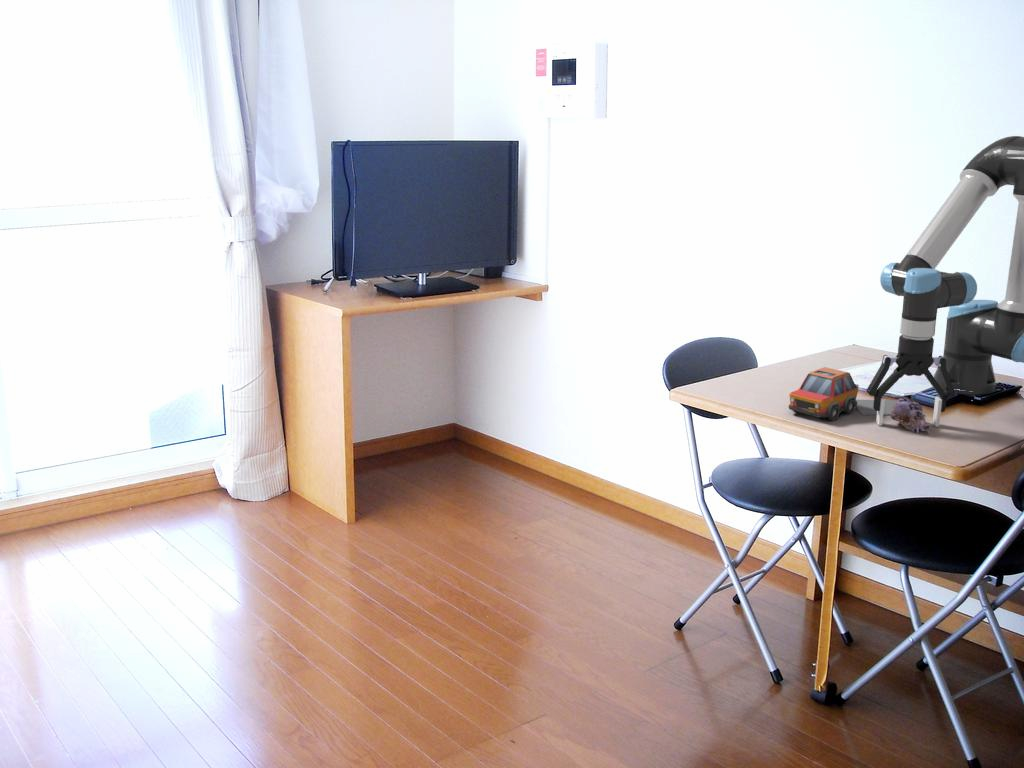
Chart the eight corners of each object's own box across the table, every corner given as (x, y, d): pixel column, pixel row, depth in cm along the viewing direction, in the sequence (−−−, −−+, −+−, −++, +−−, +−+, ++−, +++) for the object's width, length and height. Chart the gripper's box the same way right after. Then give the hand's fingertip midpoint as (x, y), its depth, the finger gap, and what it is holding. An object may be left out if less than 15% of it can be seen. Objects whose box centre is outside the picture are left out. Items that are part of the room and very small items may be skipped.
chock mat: (911, 401, 265) (912, 400, 264) (925, 416, 254) (925, 414, 253) (851, 400, 266) (851, 399, 266) (861, 415, 255) (861, 413, 255)
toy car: (782, 414, 256) (785, 375, 254) (821, 399, 267) (824, 362, 264) (824, 425, 248) (827, 385, 245) (861, 410, 259) (865, 371, 256)
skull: (937, 436, 241) (940, 410, 239) (904, 436, 240) (907, 411, 238) (916, 419, 252) (918, 394, 250) (884, 419, 252) (887, 395, 250)
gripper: (966, 332, 244) (955, 420, 250) (858, 331, 246) (850, 417, 252) (977, 340, 237) (966, 430, 243) (866, 339, 239) (858, 428, 245)
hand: (907, 424), depth 248 cm, fingers open, 12 cm apart
